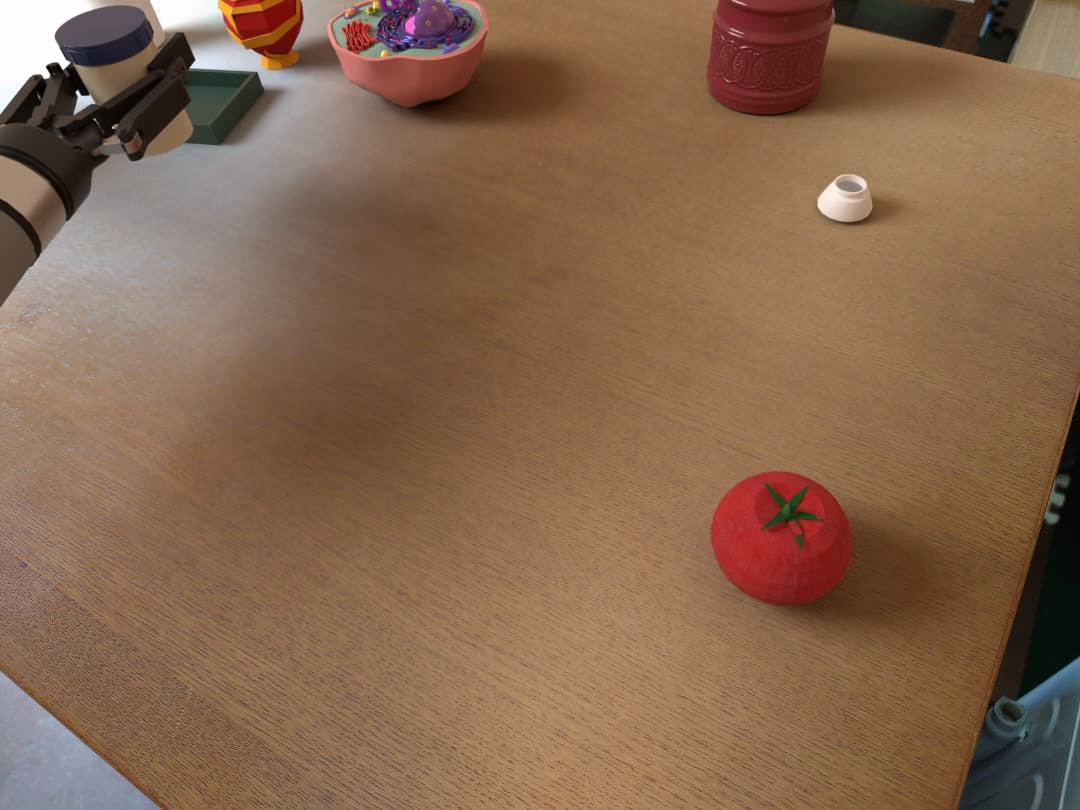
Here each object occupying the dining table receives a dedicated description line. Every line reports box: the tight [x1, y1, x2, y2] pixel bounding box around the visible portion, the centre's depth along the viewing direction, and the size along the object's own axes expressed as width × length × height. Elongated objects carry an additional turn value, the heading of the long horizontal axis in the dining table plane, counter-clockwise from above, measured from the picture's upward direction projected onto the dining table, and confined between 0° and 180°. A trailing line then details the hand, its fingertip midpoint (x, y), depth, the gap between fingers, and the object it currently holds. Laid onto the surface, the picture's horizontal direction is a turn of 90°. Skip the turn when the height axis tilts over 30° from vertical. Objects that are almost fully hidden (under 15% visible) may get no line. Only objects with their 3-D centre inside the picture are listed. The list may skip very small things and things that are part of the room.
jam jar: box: [72, 39, 193, 158], centre depth 73 cm, size 7×7×10 cm
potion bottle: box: [217, 0, 305, 71], centre depth 98 cm, size 10×10×15 cm
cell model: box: [326, 0, 490, 108], centre depth 92 cm, size 17×20×11 cm
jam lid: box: [54, 5, 154, 66], centre depth 69 cm, size 8×8×2 cm
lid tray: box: [183, 67, 265, 146], centre depth 96 cm, size 13×12×3 cm
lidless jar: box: [817, 173, 874, 223], centre depth 75 cm, size 5×3×5 cm
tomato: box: [710, 470, 853, 607], centre depth 50 cm, size 9×9×8 cm
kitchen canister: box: [706, 0, 836, 115], centre depth 84 cm, size 13×13×18 cm
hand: (147, 47), depth 75 cm, fingers closed on jam jar, 7 cm apart
